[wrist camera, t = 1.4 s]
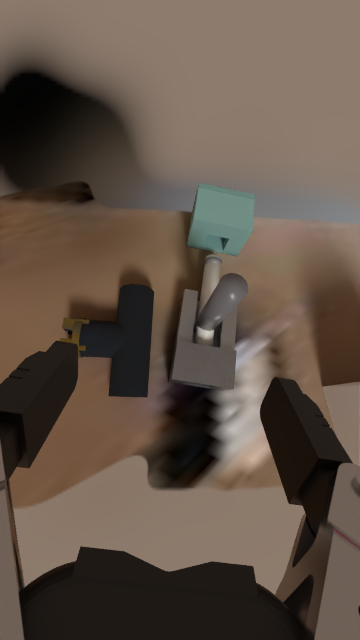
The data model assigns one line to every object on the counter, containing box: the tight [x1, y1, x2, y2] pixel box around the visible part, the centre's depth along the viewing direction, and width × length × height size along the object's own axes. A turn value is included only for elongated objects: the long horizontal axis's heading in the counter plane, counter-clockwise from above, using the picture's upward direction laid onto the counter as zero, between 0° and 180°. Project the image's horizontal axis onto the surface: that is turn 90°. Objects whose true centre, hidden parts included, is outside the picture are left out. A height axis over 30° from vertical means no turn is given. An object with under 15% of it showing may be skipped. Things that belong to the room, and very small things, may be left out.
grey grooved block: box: [168, 289, 238, 390], centre depth 36 cm, size 8×13×5 cm, turn 172°
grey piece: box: [194, 254, 248, 346], centre depth 33 cm, size 3×18×14 cm, turn 172°
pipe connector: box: [60, 284, 154, 397], centre depth 35 cm, size 12×5×15 cm
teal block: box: [187, 183, 255, 256], centre depth 42 cm, size 9×7×7 cm
